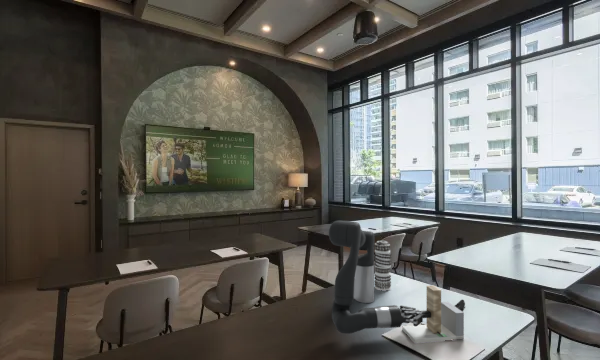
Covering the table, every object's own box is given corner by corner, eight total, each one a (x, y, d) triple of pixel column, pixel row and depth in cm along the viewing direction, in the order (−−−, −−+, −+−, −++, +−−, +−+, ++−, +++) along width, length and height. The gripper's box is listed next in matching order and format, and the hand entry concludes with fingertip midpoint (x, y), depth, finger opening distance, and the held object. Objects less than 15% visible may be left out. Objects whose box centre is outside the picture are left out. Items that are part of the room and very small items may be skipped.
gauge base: (414, 343, 115) (414, 315, 114) (402, 330, 124) (402, 304, 124) (463, 339, 117) (463, 312, 117) (447, 326, 127) (447, 301, 127)
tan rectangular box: (438, 338, 115) (438, 294, 114) (426, 326, 123) (426, 285, 123) (446, 337, 115) (446, 293, 115) (433, 326, 123) (433, 285, 123)
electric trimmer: (467, 307, 146) (467, 300, 146) (457, 318, 135) (457, 310, 135) (458, 305, 149) (458, 298, 149) (448, 315, 137) (448, 308, 137)
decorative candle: (374, 290, 167) (374, 243, 166) (373, 284, 176) (373, 239, 175) (392, 291, 165) (392, 243, 165) (390, 285, 174) (390, 239, 174)
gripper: (393, 314, 112) (439, 311, 114) (379, 299, 125) (421, 297, 127) (393, 335, 112) (439, 332, 114) (379, 318, 125) (421, 316, 127)
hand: (430, 313), depth 120 cm, fingers closed
